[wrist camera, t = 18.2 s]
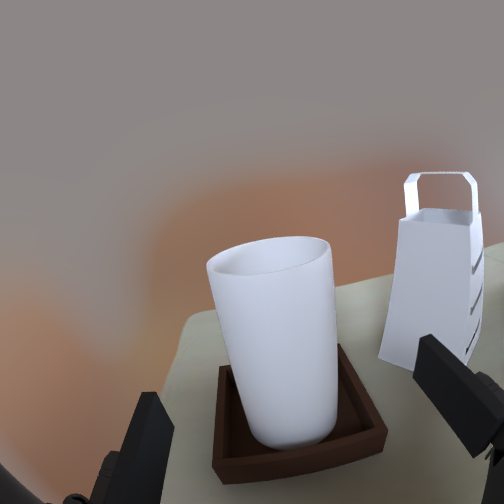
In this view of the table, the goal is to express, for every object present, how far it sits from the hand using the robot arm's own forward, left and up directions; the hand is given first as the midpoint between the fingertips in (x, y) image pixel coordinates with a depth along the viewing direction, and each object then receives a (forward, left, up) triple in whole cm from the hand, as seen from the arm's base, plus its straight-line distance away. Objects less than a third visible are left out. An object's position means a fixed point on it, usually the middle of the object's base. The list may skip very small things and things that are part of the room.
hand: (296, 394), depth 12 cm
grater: (+22, -4, -12) cm, 25 cm away
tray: (+6, +6, -12) cm, 14 cm away
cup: (+6, +6, -11) cm, 14 cm away
